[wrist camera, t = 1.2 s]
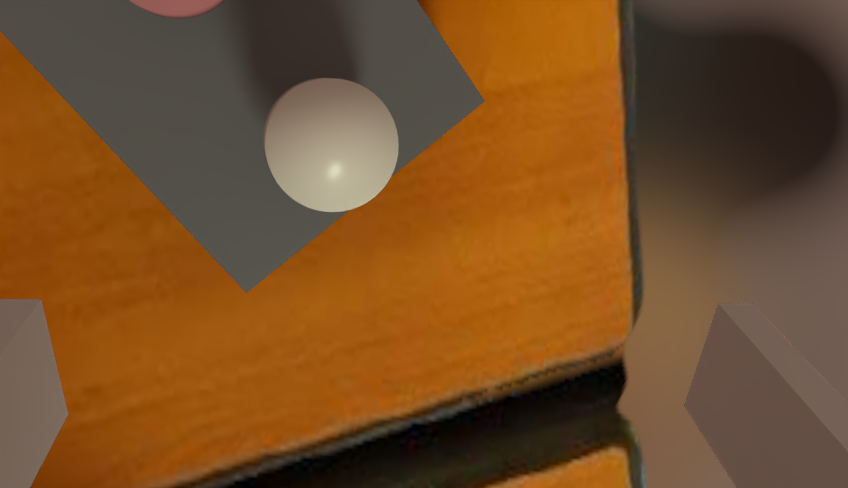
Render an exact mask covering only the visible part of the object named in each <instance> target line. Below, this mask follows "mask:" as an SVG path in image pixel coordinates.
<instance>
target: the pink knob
mask: <svg viewBox="0 0 848 488" xmlns="http://www.w3.org/2000/svg"><path fill="white" fill-rule="evenodd" d="M129 1H131V2H132V3H134V4H135V5H137V6H138V7H140V8H142V9H144V10H146V11H148V12H150V13H152V14H155V15H158V16H162V17H166V18H173V19H187V18H193V17H197V16H201V15H204V14H206V13H208V12H210V11H212V10H214V9H215V8H217V7H218V6H219V5H221V4H222V3H223V2H224V1H225V0H129Z"/></svg>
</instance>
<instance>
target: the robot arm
mask: <svg viewBox="0 0 848 488" xmlns="http://www.w3.org/2000/svg"><path fill="white" fill-rule="evenodd" d="M684 406H685V408H686V410H687V411H688V413H689V414H690V416H691V418H692V419H693V420H694V422H695V424H696V425H697V427H698V428H699V430H700V432H701V433H702V435H703V436H704V438H705V439H706V441H707V442H708V444H709V446H710V447H711V449H712V450H713V452H714V453H715V455H716V457H717V458H718V460H719V461H720V463H721V464H722V466H723V468H724V469H725V471H726V472H727V474H728V475H729V477H730V478H731V480H732V481H733V483H734V485H735V486H736V488H848V403H847V402H846V401H845V399H843V398H842V396H841V395H840V394H839V393H838V392H837V391H836V390H835V389H834V388H833V387H832V386H831V385H830V384H829V383H828V382H827V381H826V380H825V379H824V378H823V377H822V375H821V374H820V373H819V372H818V371H817V370H816V369H815V368H814V367H813V366H812V365H811V364H810V363H809V362H808V361H807V360H806V359H805V358H804V357H803V355H802V354H801V353H800V352H799V351H798V350H797V349H796V348H795V347H794V346H793V345H792V344H791V343H790V342H789V341H788V340H787V339H786V338H785V337H784V336H783V335H782V334H781V332H780V331H779V330H778V329H777V328H776V327H775V326H774V325H773V324H772V323H771V322H770V321H769V320H768V319H767V318H766V317H765V316H764V315H763V314H762V313H761V311H759V309H758V308H757V307H756V306H755V305H754V304H752V303H751V304H750V303H749V304H748V303H745V304H744V303H734V304H733V303H718V306H717V309H716V311H715V314H714V318H713V321H712V323H711V326H710V329H709V332H708V335H707V338H706V341H705V344H704V347H703V350H702V353H701V356H700V359H699V362H698V365H697V368H696V371H695V374H694V378H693V380H692V383H691V386H690V389H689V392H688V395H687V398H686V401H685V404H684ZM67 416H68V412H67V407H66V403H65V399H64V395H63V390H62V386H61V382H60V378H59V373H58V369H57V365H56V361H55V356H54V352H53V348H52V344H51V339H50V335H49V331H48V327H47V322H46V318H45V314H44V310H43V305H42V301H41V299H0V488H30V487H31V485H32V483H33V481H34V479H35V477H36V475H37V473H38V471H39V469H40V467H41V465H42V464H43V462H44V460H45V458H46V456H47V454H48V452H49V450H50V448H51V446H52V444H53V442H54V441H55V439H56V437H57V435H58V433H59V431H60V429H61V427H62V425H63V423H64V421H65V419H66V417H67Z"/></svg>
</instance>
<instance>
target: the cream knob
mask: <svg viewBox="0 0 848 488" xmlns="http://www.w3.org/2000/svg"><path fill="white" fill-rule="evenodd" d="M263 144H264V151H265V155H266V158H267V162H268V165H269V168H270V170H271V173H272V175H273V177H274V178H275V180H276V182H277V183H278V184H279V186H280V187H281V189H282V190H283V191H284V192H285V193H286V194H287V195H288V196H290V197H291V198H292V199H294V200H295V201H297V202H298V203H300V204H302V205H304V206H306V207H308V208H311V209H314V210H318V211H324V212H341V211H347V210H351V209H354V208H356V207H359V206H361V205H363V204H365V203H367V202H368V201H370V200H371V199H373V198H374V197H375V196H376V195H377V194H378V193H379V192H380V191H381V190H382V189H383V188H384V187H385V185H386V184H387V182H388V181H389V179H390V178H391V175H392V173H393V171H394V169H395V166H396V162H397V157H398V148H399V144H398V134H397V129H396V126H395V123H394V120H393V118H392V116H391V114H390V112H389V110H388V109H387V107H386V106H385V104H384V103H383V102H382V101H381V100H380V99H379V98H378V97H377V96H376V95H375V94H374V93H373V92H371V91H370V90H368V89H367V88H365V87H363V86H361V85H360V84H357V83H355V82H352V81H348V80H344V79H336V78H315V79H309V80H306V81H303V82H300V83H298V84H296V85H294V86H292V87H291V88H289V89H288V90H286V91H285V92H284V93H283V94H282V95H281V96H280V97H279V98H278V99H277V100H276V101H275V103H274V104H273V106H272V107H271V109H270V111H269V113H268V115H267V118H266V122H265V125H264V131H263Z"/></svg>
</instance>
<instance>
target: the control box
mask: <svg viewBox="0 0 848 488" xmlns="http://www.w3.org/2000/svg"><path fill="white" fill-rule="evenodd" d="M0 31H1V32H2V33H3V34H4V35H5V36H6V37H7V38H8V39H9V40H10V41H11V43H12V44H13V45H14V46H15V47H16V48H17V49H18V50H19V51H20V52H21V53H22V54H23V55H24V56H25V57H26V59H27V60H28V61H29V62H30V63H31V64H32V65H33V66H34V67H35V68H36V69H37V70H38V71H39V72H40V73H41V75H42V76H43V77H44V78H45V79H46V80H47V81H48V82H49V83H50V84H51V85H52V86H53V87H54V88H55V89H56V91H57V92H58V93H59V94H60V95H61V96H62V97H63V98H64V99H65V100H66V101H67V102H68V103H69V104H70V105H71V106H72V108H73V109H74V110H75V111H76V112H77V113H78V114H79V115H80V116H81V117H82V118H83V119H84V120H85V121H86V122H87V124H88V125H89V126H90V127H91V128H92V129H93V130H94V131H95V132H96V133H97V134H98V135H99V136H100V137H101V138H102V140H103V141H104V142H105V143H106V144H107V145H108V146H109V147H110V148H111V149H112V150H113V151H114V152H115V153H116V154H117V156H118V157H119V158H120V159H121V160H122V161H123V162H124V163H125V164H126V165H127V166H128V167H129V168H130V169H131V170H132V172H133V173H134V174H135V175H136V176H137V177H138V178H139V179H140V180H141V181H142V182H143V183H144V184H145V185H146V186H147V187H148V189H149V190H150V191H151V192H152V193H153V194H154V195H155V196H156V197H157V198H158V199H159V200H160V201H161V202H162V203H163V205H164V206H165V207H166V208H167V209H168V210H169V211H170V212H171V213H172V214H173V215H174V216H175V217H176V218H177V219H178V221H179V222H180V223H181V224H182V225H183V226H184V227H185V228H186V229H187V230H188V231H189V232H190V233H191V234H192V235H193V237H194V238H195V239H196V240H197V241H198V242H199V243H200V244H201V245H202V246H203V247H204V248H205V249H206V250H207V251H208V252H209V254H210V255H211V256H212V257H213V258H214V259H215V260H216V261H217V262H218V263H219V264H220V265H221V266H222V267H223V268H224V270H225V271H226V272H227V273H228V274H229V275H230V276H231V277H232V278H233V279H234V280H235V281H236V282H237V283H238V284H239V286H240V287H241V288H242V289H243V290H244V291H245V292H246V293H247V292H248V291H249V290H250V289H252V288H253V287H254V286H255V285H257V284H258V283H259V282H260V281H262V280H263V279H264V278H265V277H267V276H268V275H269V274H270V273H272V272H273V271H274V270H275V269H277V268H278V267H279V266H280V265H282V264H283V263H284V262H285V261H287V260H288V259H289V258H290V257H292V256H293V255H294V254H295V253H297V252H298V251H299V250H300V249H301V248H303V247H304V246H305V245H306V244H308V243H309V242H310V241H311V240H313V239H314V238H315V237H316V236H318V235H319V234H320V233H321V232H323V231H324V230H325V229H326V228H328V227H329V226H330V225H331V224H333V223H334V222H335V221H336V220H338V219H339V218H340V217H341V216H343V215H344V214H345V213H346V212H348V211H349V210H347V211H341V212H324V211H318V210H314V209H311V208H308V207H306V206H304V205H302V204H300V203H298V202H297V201H295V200H294V199H292V198H291V197H290V196H288V195H287V194H286V193H285V192H284V191H283V190H282V189H281V187H280V186H279V184H278V183H277V182H276V180H275V178H274V177H273V175H272V173H271V170H270V168H269V165H268V162H267V158H266V155H265V151H264V144H263V131H264V125H265V122H266V118H267V115H268V113H269V111H270V109H271V107H272V106H273V104H274V103H275V101H276V100H277V99H278V98H279V97H280V96H281V95H282V94H283V93H284V92H285V91H286V90H288V89H289V88H291V87H292V86H294V85H296V84H298V83H300V82H303V81H306V80H309V79H315V78H336V79H344V80H348V81H352V82H355V83H357V84H360V85H361V86H363V87H365V88H367V89H368V90H370V91H371V92H373V93H374V94H375V95H376V96H377V97H378V98H379V99H380V100H381V101H382V102H383V103H384V104H385V106H386V107H387V109H388V110H389V112H390V114H391V116H392V118H393V120H394V123H395V126H396V129H397V134H398V144H399V148H398V157H397V162H396V166H395V169H394V171H393V173H392V175H394V174H395V173H396V172H397V171H399V170H400V169H401V168H402V167H404V166H405V165H406V164H407V163H409V162H410V161H411V160H412V159H413V158H415V157H416V156H417V155H418V154H420V153H421V152H422V151H423V150H425V149H426V148H427V147H428V146H430V145H431V144H432V143H433V142H435V141H436V140H437V139H438V138H440V137H441V136H442V135H443V134H445V133H446V132H447V131H448V130H450V129H451V128H452V127H453V126H455V125H456V124H457V123H458V122H460V121H461V120H462V119H463V118H465V117H466V116H467V115H468V114H469V113H471V112H472V111H473V110H474V109H476V108H477V107H478V106H479V105H481V104H482V103H483V102H484V99H483V98H482V96H481V95H480V93H479V92H478V90H477V89H476V87H475V86H474V84H473V83H472V81H471V80H470V78H469V77H468V75H467V74H466V72H465V71H464V69H463V68H462V66H461V65H460V63H459V62H458V60H457V59H456V57H455V56H454V55H453V53H452V52H451V50H450V49H449V47H448V46H447V44H446V43H445V41H444V40H443V38H442V37H441V35H440V34H439V32H438V31H437V29H436V28H435V26H434V25H433V23H432V22H431V20H430V19H429V17H428V16H427V14H426V13H425V11H424V10H423V8H422V7H421V5H420V4H419V2H418V1H417V0H225V1H224V2H223V3H222V4H221V5H219V6H218V7H217V8H215V9H214V10H212V11H210V12H208V13H206V14H204V15H201V16H197V17H193V18H187V19H173V18H166V17H162V16H158V15H155V14H152V13H150V12H148V11H146V10H144V9H142V8H140V7H138V6H137V5H135V4H134V3H132V2H131V1H129V0H0ZM392 175H391V176H392Z"/></svg>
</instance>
